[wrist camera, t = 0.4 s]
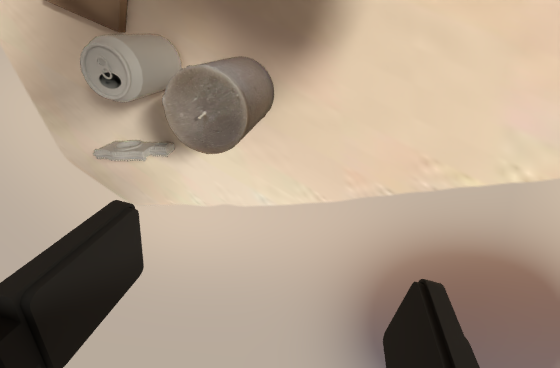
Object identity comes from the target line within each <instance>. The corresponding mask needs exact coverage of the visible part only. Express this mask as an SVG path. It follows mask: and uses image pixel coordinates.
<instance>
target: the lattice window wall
mask: <svg viewBox="0 0 560 368" xmlns="http://www.w3.org/2000/svg"><path fill="white" fill-rule="evenodd" d="M174 149H175V148H174V144H173V143H162V142H142V141H140V140H129V141H114V142H112V143H110V144H108V145H106V146H104V147H102V148H100V149H95V150H94V153H93V155H94V156H96V158H97V159H109V160H111V161H112V160H114V161H116V160H117V161H119V160H120V161H121V160H122V161H126V160H127V161H128V160H130V159H132V161H133V159H134V160H135V159H137V161H138V159H139V161H140V160H141V159H142V160H143V161H145V160H146V157H147V156H149V155H153V156H154V155H155V156H156V155H157V156H158V155H159V156H160V155H161V156H163V157H164V156H165V157H168V156H167V155H169V153H171V152H172V151H173V150H174ZM98 157H99V158H98ZM100 157H101V158H100ZM102 157H103V158H102ZM142 160H141V161H142ZM130 161H131V160H130ZM135 161H136V160H135Z"/></svg>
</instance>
